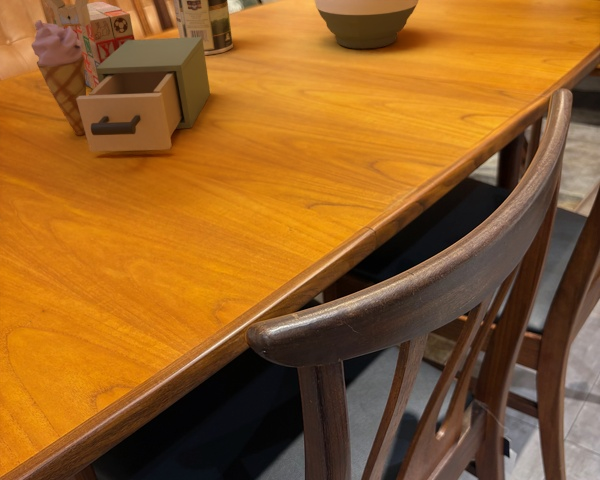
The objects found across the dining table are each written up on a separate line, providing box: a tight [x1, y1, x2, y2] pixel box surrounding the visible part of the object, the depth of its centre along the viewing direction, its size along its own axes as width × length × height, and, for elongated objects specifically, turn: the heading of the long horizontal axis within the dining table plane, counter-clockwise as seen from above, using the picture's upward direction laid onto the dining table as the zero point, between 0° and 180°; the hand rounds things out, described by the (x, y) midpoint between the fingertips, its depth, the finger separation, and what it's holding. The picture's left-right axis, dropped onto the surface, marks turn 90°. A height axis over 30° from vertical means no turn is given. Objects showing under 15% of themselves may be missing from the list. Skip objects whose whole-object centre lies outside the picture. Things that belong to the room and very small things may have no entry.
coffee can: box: [173, 0, 234, 56], centre depth 116 cm, size 10×10×14 cm
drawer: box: [76, 71, 183, 153], centre depth 79 cm, size 18×10×7 cm, turn 176°
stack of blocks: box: [53, 1, 136, 90], centre depth 101 cm, size 21×6×12 cm, turn 34°
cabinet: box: [96, 37, 211, 130], centre depth 89 cm, size 15×12×9 cm
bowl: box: [314, 0, 419, 50], centre depth 114 cm, size 20×20×10 cm
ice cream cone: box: [31, 19, 87, 136], centre depth 82 cm, size 7×6×15 cm
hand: (74, 25), depth 62 cm, fingers closed
